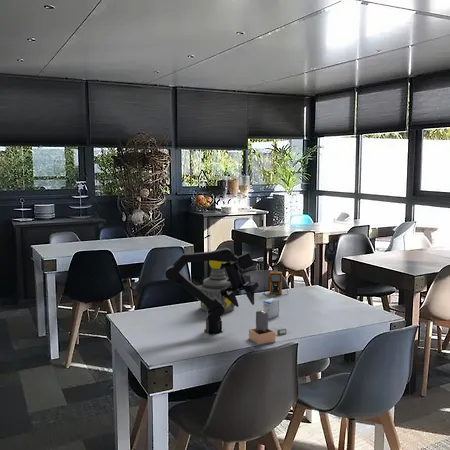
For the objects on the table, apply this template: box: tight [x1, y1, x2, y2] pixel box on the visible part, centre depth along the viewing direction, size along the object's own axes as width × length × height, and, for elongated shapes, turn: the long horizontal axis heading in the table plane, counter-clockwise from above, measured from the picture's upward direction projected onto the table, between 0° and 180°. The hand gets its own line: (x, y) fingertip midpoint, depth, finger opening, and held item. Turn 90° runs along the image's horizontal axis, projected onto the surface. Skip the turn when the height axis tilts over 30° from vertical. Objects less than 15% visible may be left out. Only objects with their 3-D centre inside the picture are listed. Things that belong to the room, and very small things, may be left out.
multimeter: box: [263, 260, 289, 297], centre depth 293 cm, size 15×10×20 cm
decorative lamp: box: [200, 261, 236, 314], centre depth 262 cm, size 19×19×30 cm
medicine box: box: [262, 297, 280, 319], centre depth 247 cm, size 8×4×9 cm, turn 141°
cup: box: [248, 327, 276, 345], centre depth 211 cm, size 8×8×4 cm
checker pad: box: [268, 326, 293, 337], centre depth 223 cm, size 10×10×2 cm
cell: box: [255, 310, 269, 334], centre depth 211 cm, size 5×5×12 cm
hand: (245, 305), depth 224 cm, fingers open, 9 cm apart
